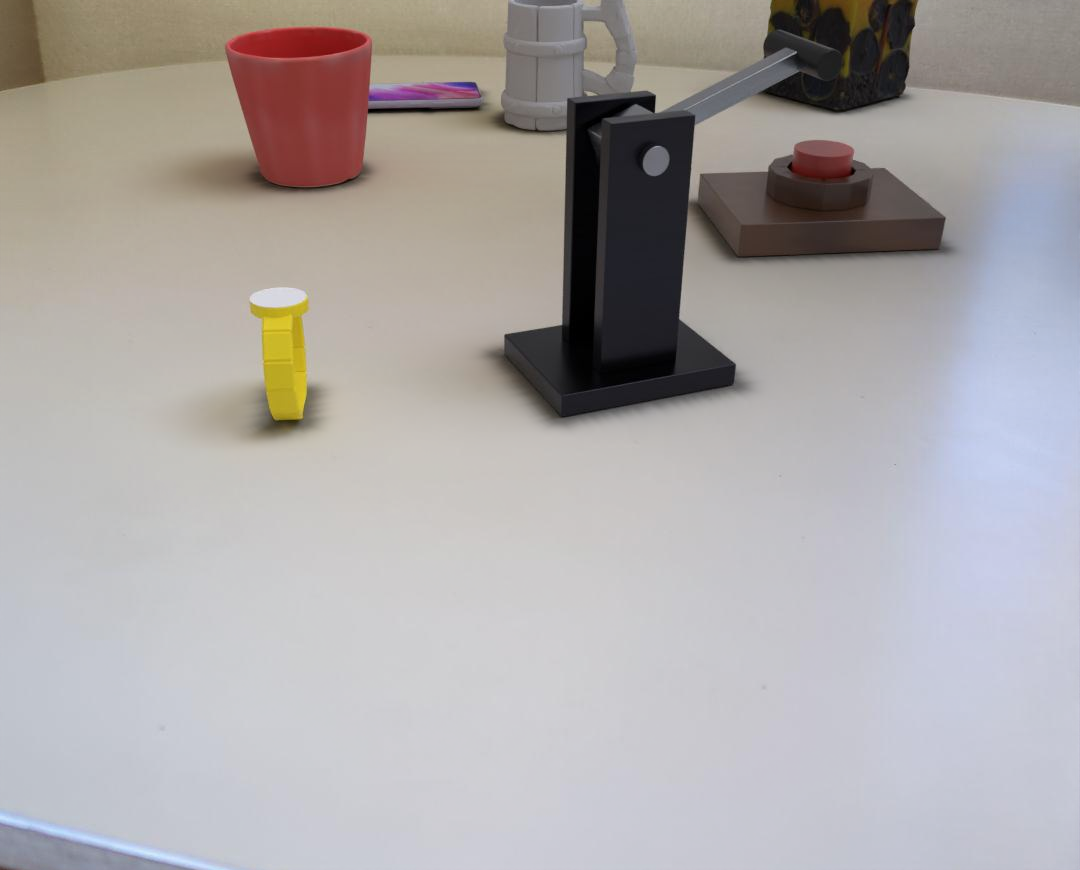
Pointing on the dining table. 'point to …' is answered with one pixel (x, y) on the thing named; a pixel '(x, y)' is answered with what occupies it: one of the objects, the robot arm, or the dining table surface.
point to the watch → (283, 349)
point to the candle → (849, 48)
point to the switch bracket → (622, 266)
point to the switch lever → (749, 79)
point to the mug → (559, 59)
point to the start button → (822, 159)
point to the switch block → (817, 212)
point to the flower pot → (304, 101)
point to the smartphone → (425, 95)
